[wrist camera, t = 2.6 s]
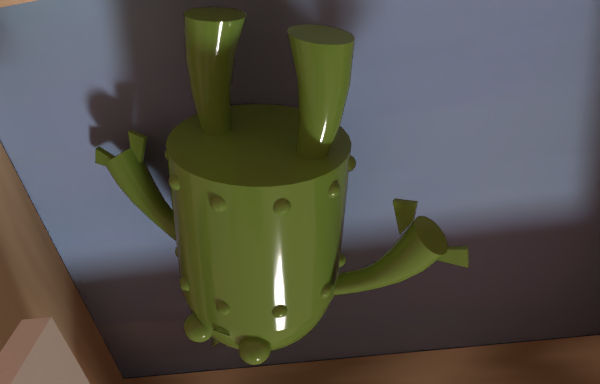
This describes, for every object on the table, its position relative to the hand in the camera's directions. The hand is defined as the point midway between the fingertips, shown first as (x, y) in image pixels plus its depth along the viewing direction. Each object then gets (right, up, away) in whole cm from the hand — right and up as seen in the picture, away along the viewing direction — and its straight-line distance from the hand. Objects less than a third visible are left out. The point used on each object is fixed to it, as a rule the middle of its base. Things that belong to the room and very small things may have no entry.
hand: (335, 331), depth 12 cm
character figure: (-2, +4, +6) cm, 7 cm away
